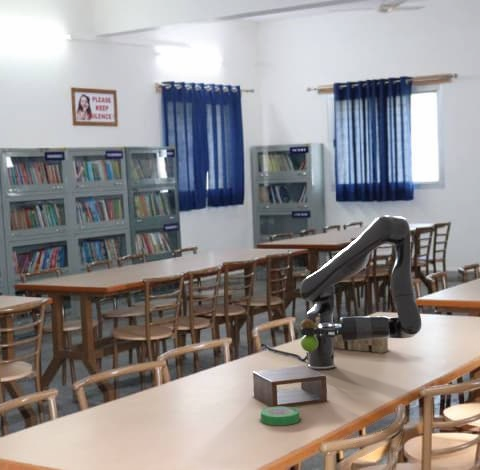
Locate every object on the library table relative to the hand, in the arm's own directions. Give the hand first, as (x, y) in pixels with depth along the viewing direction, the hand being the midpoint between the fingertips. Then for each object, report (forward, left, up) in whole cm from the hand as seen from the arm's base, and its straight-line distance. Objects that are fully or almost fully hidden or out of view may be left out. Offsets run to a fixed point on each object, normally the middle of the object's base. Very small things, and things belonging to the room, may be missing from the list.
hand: (301, 331), depth 296 cm
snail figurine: (+1, +3, -7) cm, 7 cm away
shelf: (+2, -6, -21) cm, 22 cm away
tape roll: (+23, -18, -21) cm, 36 cm away
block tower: (-60, +47, -21) cm, 79 cm away
